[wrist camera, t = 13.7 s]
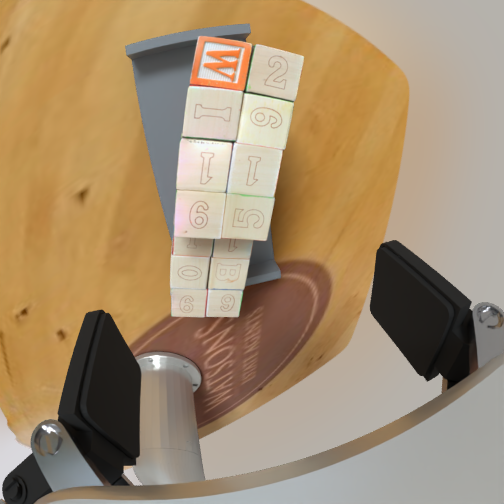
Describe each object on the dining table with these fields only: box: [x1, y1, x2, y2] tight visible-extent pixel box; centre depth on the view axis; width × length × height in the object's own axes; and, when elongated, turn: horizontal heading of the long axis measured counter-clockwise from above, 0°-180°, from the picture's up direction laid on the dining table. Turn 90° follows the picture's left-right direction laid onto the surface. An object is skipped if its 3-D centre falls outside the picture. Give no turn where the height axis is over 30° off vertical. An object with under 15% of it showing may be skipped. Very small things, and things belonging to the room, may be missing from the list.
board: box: [125, 24, 281, 286], centre depth 27 cm, size 27×11×4 cm, turn 8°
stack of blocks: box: [170, 36, 304, 317], centre depth 22 cm, size 21×6×12 cm, turn 170°
